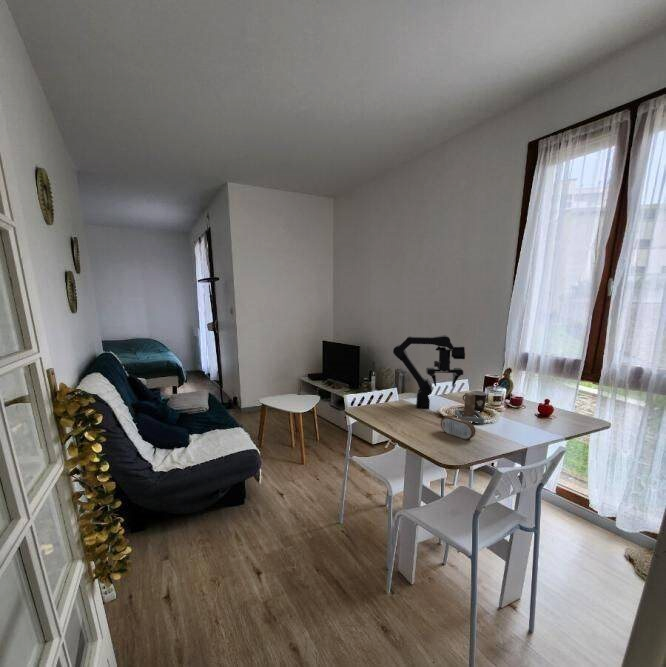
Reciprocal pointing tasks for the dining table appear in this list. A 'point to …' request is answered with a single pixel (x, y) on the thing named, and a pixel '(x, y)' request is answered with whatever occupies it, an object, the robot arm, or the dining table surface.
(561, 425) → the dining table surface
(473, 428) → the tin
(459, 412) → the box
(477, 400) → the coffee mug
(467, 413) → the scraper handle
